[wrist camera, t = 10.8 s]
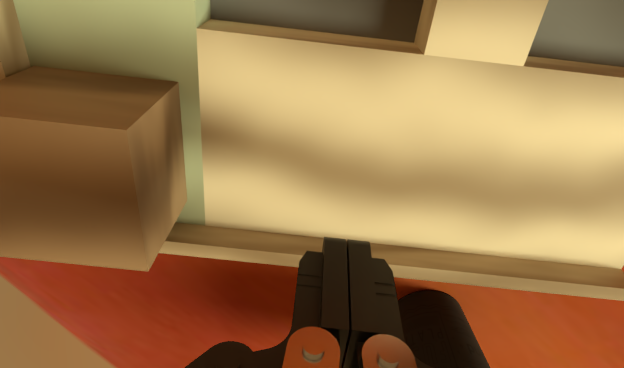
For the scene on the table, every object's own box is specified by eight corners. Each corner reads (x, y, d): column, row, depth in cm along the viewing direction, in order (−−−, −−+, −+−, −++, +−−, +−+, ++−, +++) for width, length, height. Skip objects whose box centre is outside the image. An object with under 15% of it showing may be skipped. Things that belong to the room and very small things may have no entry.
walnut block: (34, 65, 16) (-70, 109, 12) (178, 82, 17) (126, 130, 12) (66, 187, 20) (-8, 255, 15) (187, 200, 20) (148, 271, 15)
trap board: (-29, -244, 14) (-149, -307, 10) (821, -134, 14) (976, -158, 11) (78, 195, 23) (35, 240, 19) (587, 249, 24) (631, 301, 20)
